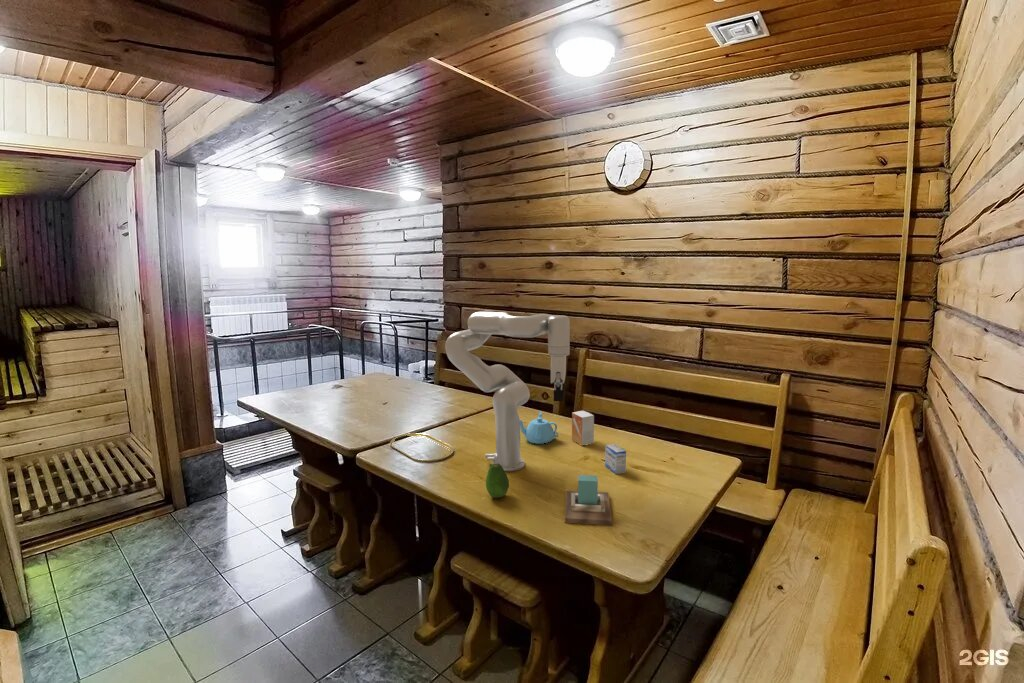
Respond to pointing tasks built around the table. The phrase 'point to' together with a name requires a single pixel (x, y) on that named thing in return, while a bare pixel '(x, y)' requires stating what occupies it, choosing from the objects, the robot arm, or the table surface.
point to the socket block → (588, 510)
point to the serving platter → (427, 437)
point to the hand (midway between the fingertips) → (558, 397)
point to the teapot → (539, 430)
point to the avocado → (497, 481)
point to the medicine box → (615, 459)
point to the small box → (582, 427)
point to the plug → (587, 489)
